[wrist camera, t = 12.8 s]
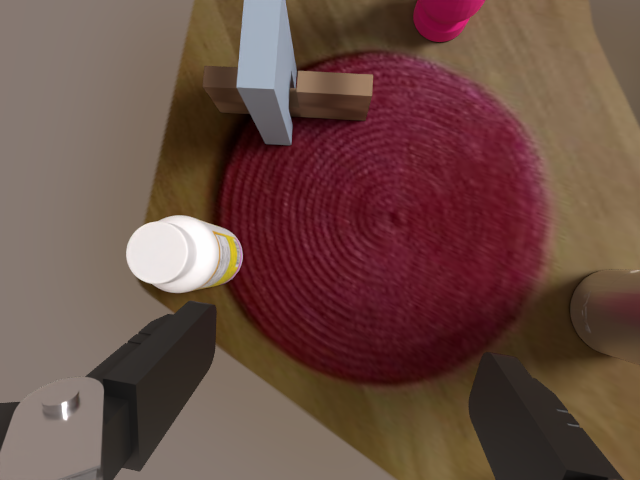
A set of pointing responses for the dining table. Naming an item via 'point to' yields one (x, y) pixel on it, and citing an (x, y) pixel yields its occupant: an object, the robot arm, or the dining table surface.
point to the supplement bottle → (183, 254)
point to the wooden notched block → (299, 93)
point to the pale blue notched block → (267, 68)
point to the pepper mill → (443, 17)
